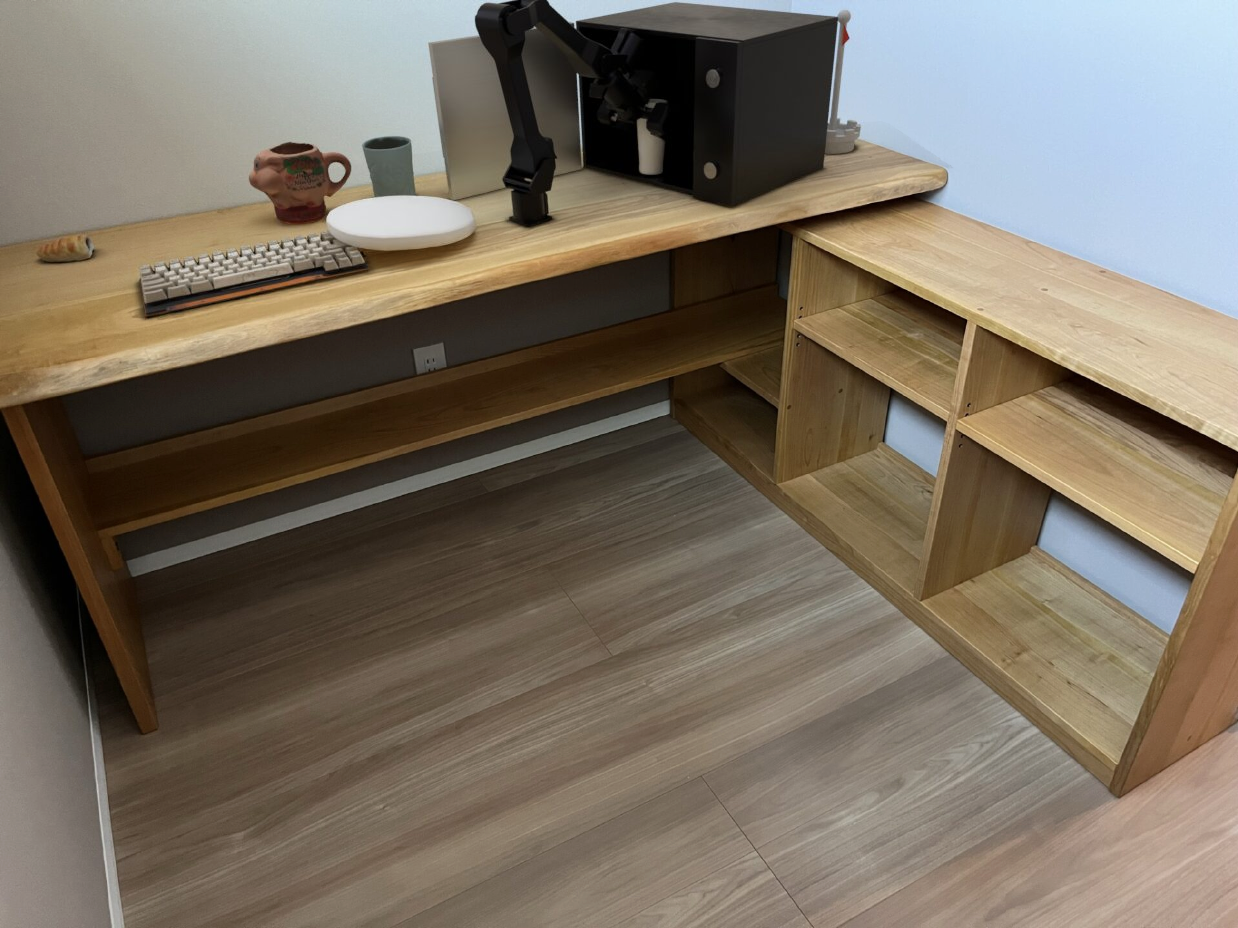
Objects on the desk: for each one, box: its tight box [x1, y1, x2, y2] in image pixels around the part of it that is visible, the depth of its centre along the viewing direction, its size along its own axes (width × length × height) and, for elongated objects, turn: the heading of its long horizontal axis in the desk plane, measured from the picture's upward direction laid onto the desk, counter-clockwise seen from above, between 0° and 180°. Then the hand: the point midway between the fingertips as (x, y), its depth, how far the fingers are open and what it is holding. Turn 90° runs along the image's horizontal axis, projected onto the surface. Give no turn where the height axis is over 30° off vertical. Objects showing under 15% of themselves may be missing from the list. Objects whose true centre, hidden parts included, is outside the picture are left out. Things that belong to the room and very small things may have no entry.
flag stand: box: [825, 9, 862, 155], centre depth 207 cm, size 13×13×30 cm
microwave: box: [575, 1, 839, 208], centre depth 195 cm, size 35×44×31 cm
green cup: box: [361, 135, 417, 198], centre depth 189 cm, size 10×10×12 cm
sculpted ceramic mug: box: [248, 141, 352, 225], centre depth 181 cm, size 20×12×14 cm, turn 117°
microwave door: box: [427, 21, 583, 201], centre depth 192 cm, size 7×34×31 cm, turn 127°
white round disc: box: [325, 195, 477, 252], centre depth 169 cm, size 28×6×27 cm
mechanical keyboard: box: [138, 229, 370, 318], centre depth 158 cm, size 38×19×3 cm, turn 118°
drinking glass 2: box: [637, 99, 668, 175], centre depth 195 cm, size 7×7×15 cm
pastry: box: [35, 233, 95, 263], centre depth 168 cm, size 9×7×4 cm
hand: (653, 136), depth 196 cm, fingers open, 9 cm apart
